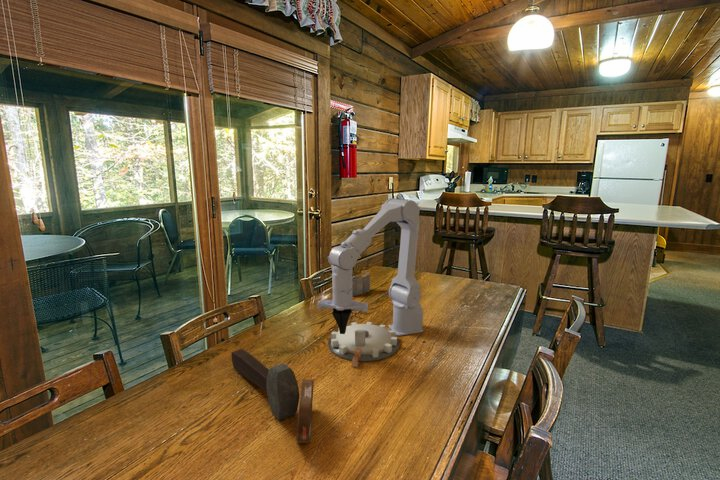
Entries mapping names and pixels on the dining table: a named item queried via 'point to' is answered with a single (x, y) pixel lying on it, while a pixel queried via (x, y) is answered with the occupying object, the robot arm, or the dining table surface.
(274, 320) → the dining table surface
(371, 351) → the sprocket wheel
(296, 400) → the hammer
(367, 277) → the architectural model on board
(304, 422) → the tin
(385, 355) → the wheel base
